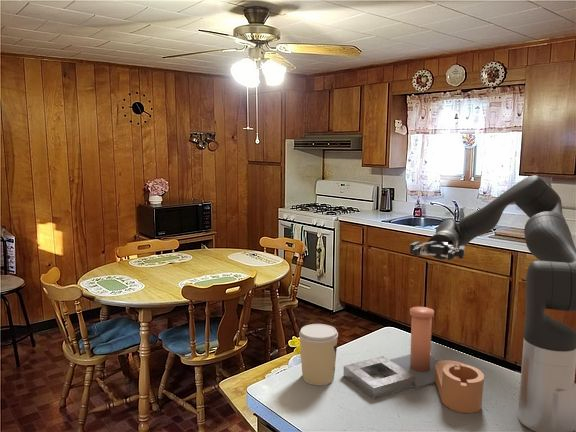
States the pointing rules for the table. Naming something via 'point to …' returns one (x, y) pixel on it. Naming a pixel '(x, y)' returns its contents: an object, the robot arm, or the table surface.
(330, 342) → the coffee cup
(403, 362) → the mat
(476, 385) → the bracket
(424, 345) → the orange flanged cylinder
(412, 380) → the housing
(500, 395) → the table surface
